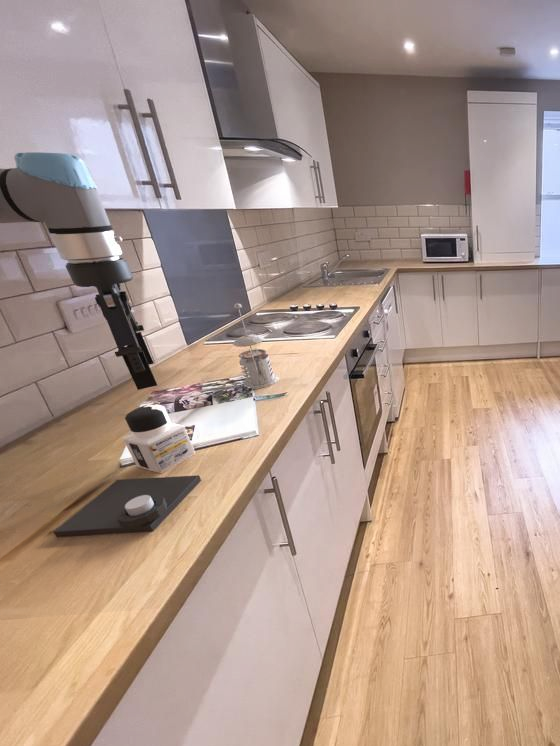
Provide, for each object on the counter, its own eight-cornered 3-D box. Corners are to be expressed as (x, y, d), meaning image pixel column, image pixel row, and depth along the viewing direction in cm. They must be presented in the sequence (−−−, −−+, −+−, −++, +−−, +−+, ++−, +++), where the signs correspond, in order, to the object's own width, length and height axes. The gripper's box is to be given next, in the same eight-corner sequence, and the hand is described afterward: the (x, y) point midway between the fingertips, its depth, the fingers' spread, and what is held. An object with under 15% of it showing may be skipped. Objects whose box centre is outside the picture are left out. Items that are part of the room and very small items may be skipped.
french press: (274, 373, 134) (252, 297, 123) (283, 384, 126) (261, 304, 115) (240, 381, 128) (214, 303, 117) (247, 394, 120) (220, 311, 109)
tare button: (123, 517, 72) (119, 509, 71) (138, 503, 75) (134, 495, 74) (145, 515, 72) (141, 508, 71) (159, 501, 75) (155, 494, 74)
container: (160, 474, 87) (135, 421, 81) (136, 467, 89) (110, 415, 83) (196, 454, 93) (175, 403, 88) (173, 448, 95) (151, 398, 90)
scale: (55, 538, 71) (46, 525, 69) (120, 485, 84) (113, 473, 82) (153, 532, 72) (146, 519, 70) (202, 480, 85) (197, 468, 83)
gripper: (124, 265, 61) (176, 391, 71) (124, 249, 79) (166, 352, 88) (54, 272, 57) (119, 405, 66) (70, 254, 74) (120, 361, 84)
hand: (146, 375), depth 77 cm, fingers open, 13 cm apart
